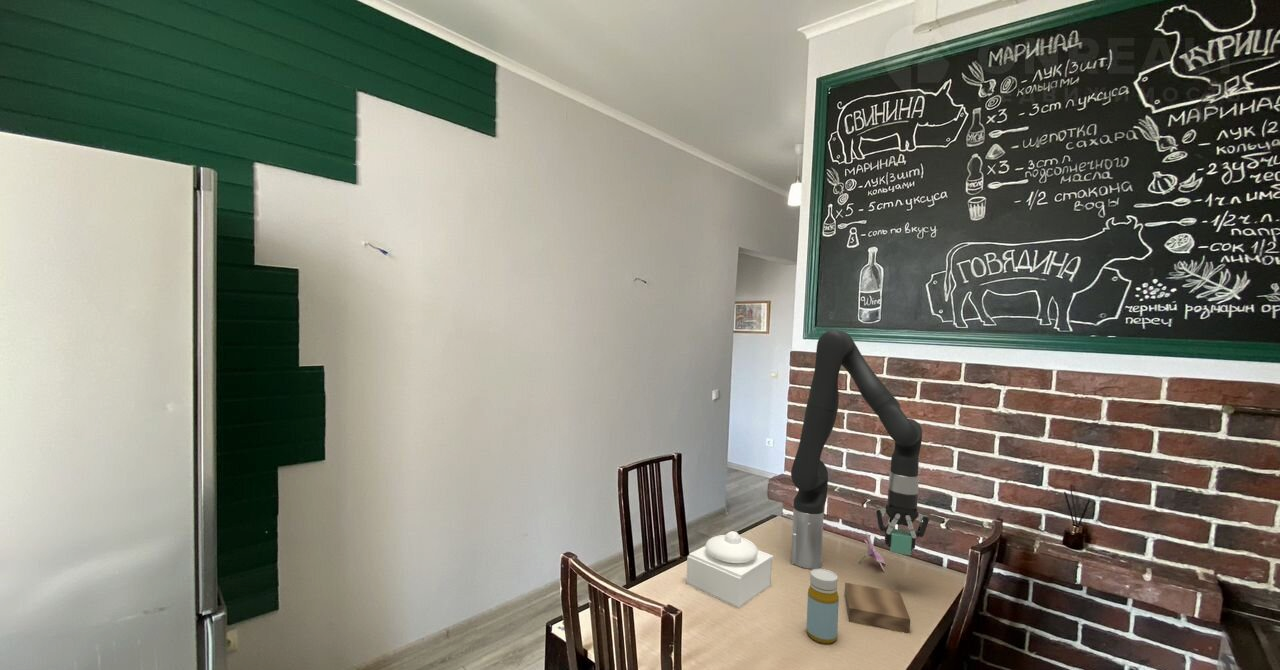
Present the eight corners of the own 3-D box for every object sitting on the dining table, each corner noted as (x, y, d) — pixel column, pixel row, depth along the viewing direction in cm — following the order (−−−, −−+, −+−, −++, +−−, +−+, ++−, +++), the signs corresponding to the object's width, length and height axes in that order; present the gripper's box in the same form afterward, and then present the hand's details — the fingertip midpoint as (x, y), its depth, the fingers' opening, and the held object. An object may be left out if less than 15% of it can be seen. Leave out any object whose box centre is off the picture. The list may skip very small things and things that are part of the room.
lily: (871, 580, 153) (889, 555, 152) (840, 552, 161) (856, 528, 160) (885, 580, 161) (902, 556, 160) (854, 553, 169) (870, 530, 168)
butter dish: (686, 584, 145) (688, 529, 144) (721, 564, 158) (723, 514, 158) (738, 609, 133) (741, 549, 132) (772, 585, 146) (774, 531, 146)
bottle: (801, 627, 125) (804, 567, 125) (828, 627, 126) (831, 567, 126) (813, 645, 118) (816, 581, 118) (842, 644, 119) (844, 581, 119)
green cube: (891, 552, 142) (892, 534, 142) (888, 544, 147) (889, 528, 147) (910, 555, 141) (911, 537, 141) (907, 548, 146) (908, 531, 145)
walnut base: (848, 623, 128) (849, 607, 128) (844, 596, 142) (844, 582, 142) (909, 635, 124) (910, 619, 124) (899, 606, 137) (899, 592, 137)
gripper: (877, 489, 142) (874, 548, 142) (934, 496, 138) (930, 558, 138) (873, 481, 149) (870, 538, 150) (927, 488, 145) (924, 547, 145)
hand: (899, 547), depth 144 cm, fingers closed on green cube, 5 cm apart
